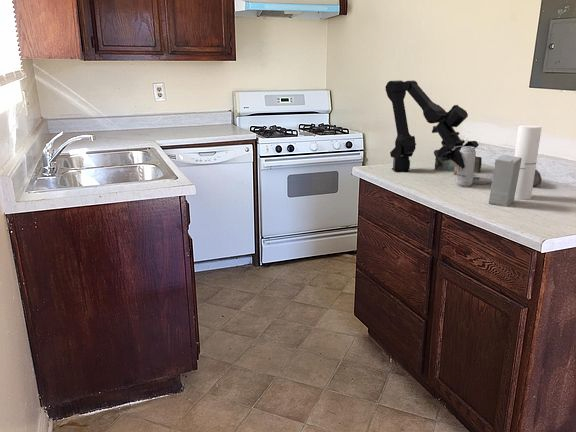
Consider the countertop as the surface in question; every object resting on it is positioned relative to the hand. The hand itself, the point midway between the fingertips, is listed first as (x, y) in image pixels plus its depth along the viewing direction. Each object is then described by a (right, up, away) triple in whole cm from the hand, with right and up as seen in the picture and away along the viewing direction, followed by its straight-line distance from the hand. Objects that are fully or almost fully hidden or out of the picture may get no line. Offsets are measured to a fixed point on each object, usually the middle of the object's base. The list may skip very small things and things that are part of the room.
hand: (469, 166), depth 186 cm
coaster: (+7, -5, +10) cm, 13 cm away
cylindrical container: (+13, -12, -13) cm, 22 cm away
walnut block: (+4, -2, +21) cm, 21 cm away
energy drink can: (-1, -7, +4) cm, 8 cm away
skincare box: (+4, -15, -20) cm, 25 cm away
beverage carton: (+6, +1, +31) cm, 32 cm away
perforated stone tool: (+25, -7, +5) cm, 27 cm away
